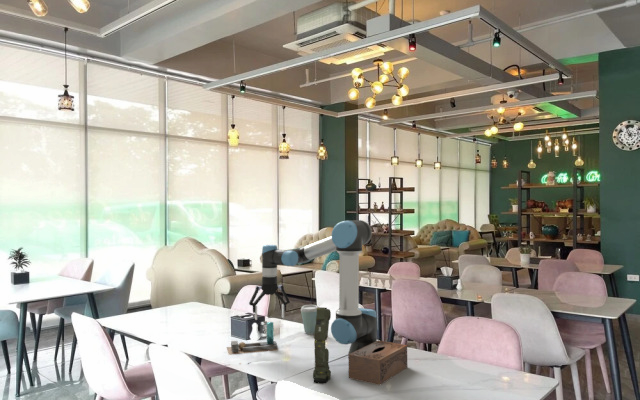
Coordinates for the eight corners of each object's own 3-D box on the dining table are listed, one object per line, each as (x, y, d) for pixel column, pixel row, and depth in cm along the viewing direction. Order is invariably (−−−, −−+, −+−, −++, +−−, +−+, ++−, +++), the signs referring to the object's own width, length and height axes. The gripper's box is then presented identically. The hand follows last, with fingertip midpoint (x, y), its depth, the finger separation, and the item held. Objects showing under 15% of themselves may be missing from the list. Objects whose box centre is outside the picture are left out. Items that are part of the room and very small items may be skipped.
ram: (275, 343, 247) (275, 321, 247) (276, 345, 242) (276, 323, 243) (259, 344, 245) (259, 322, 245) (260, 347, 240) (260, 324, 241)
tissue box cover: (378, 362, 223) (378, 340, 223) (407, 367, 215) (407, 345, 215) (348, 378, 202) (348, 354, 202) (379, 385, 194) (379, 360, 194)
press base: (273, 345, 251) (273, 336, 251) (278, 352, 238) (278, 342, 238) (226, 349, 245) (226, 339, 245) (228, 357, 232) (228, 347, 232)
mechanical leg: (326, 385, 192) (329, 307, 199) (308, 383, 193) (311, 306, 201) (332, 381, 205) (334, 308, 212) (315, 380, 206) (318, 307, 214)
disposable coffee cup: (319, 335, 270) (319, 308, 271) (300, 335, 271) (299, 308, 271) (319, 330, 281) (319, 304, 281) (301, 330, 281) (300, 304, 282)
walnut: (246, 350, 239) (246, 342, 239) (238, 350, 238) (238, 343, 238) (245, 348, 242) (245, 340, 242) (238, 348, 241) (238, 341, 241)
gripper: (292, 273, 251) (292, 315, 251) (243, 275, 245) (243, 318, 245) (295, 276, 244) (295, 318, 244) (245, 277, 237) (245, 321, 237)
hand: (269, 318), depth 244 cm, fingers open, 13 cm apart
